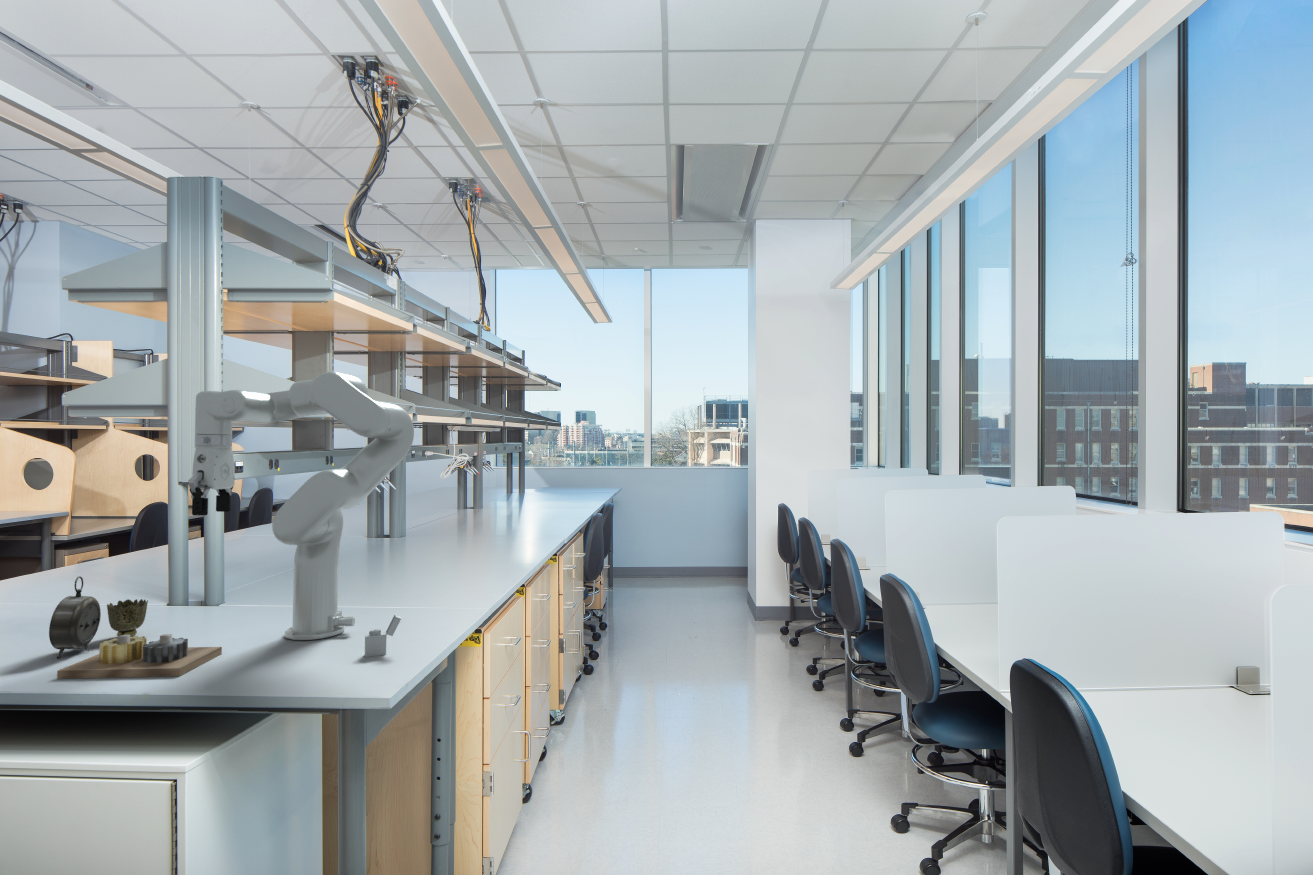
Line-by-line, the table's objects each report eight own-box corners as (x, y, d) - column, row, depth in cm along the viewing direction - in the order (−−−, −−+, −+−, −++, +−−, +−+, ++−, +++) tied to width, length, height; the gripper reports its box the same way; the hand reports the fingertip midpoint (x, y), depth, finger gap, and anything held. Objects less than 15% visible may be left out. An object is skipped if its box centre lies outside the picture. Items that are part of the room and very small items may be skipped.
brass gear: (154, 652, 136) (155, 635, 136) (129, 663, 129) (130, 645, 129) (116, 653, 135) (117, 636, 135) (89, 664, 128) (90, 646, 128)
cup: (123, 642, 148) (124, 606, 148) (97, 640, 150) (98, 604, 150) (155, 633, 156) (156, 599, 156) (129, 631, 157) (130, 597, 157)
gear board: (221, 653, 140) (222, 625, 140) (180, 675, 126) (180, 644, 127) (111, 655, 138) (112, 627, 138) (57, 678, 124) (58, 646, 125)
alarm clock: (76, 646, 145) (78, 572, 145) (105, 644, 147) (107, 571, 147) (45, 661, 135) (48, 581, 135) (77, 659, 136) (79, 580, 136)
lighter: (365, 656, 139) (365, 618, 139) (364, 654, 140) (365, 617, 141) (400, 652, 142) (401, 615, 143) (399, 650, 144) (400, 613, 144)
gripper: (209, 442, 151) (207, 516, 150) (248, 443, 168) (247, 510, 168) (174, 441, 150) (172, 516, 150) (217, 442, 167) (215, 510, 167)
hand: (211, 513), depth 159 cm, fingers open, 9 cm apart
